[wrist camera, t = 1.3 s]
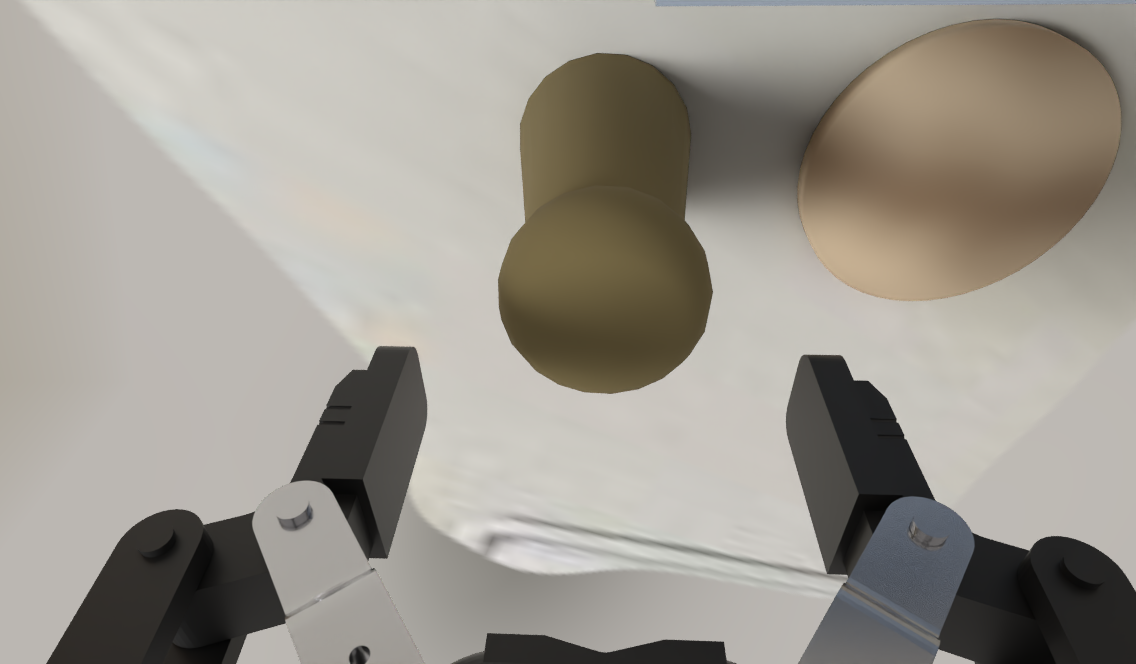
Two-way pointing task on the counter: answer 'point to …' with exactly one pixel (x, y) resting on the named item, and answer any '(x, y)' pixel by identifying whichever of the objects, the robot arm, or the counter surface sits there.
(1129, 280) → the counter surface
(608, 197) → the pepper shaker
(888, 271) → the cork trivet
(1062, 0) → the bin
